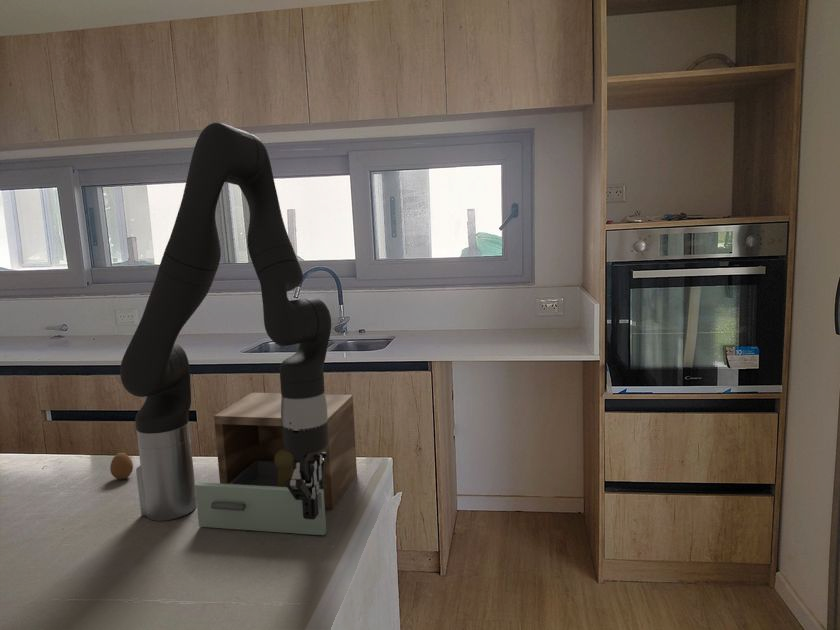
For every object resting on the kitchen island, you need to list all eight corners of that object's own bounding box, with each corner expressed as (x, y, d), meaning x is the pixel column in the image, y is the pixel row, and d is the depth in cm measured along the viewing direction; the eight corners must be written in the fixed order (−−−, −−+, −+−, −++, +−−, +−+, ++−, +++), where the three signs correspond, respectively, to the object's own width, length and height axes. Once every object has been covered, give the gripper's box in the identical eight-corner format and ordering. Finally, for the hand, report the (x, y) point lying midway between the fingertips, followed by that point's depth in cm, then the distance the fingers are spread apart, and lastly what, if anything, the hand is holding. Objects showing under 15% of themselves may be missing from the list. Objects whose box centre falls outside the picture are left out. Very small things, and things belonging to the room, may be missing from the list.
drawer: (195, 530, 106) (190, 488, 104) (252, 477, 127) (250, 442, 126) (321, 539, 101) (318, 495, 100) (358, 482, 123) (356, 446, 122)
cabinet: (221, 502, 117) (213, 415, 114) (258, 469, 132) (252, 392, 129) (332, 509, 112) (327, 419, 109) (356, 474, 128) (352, 394, 125)
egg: (128, 482, 128) (124, 456, 127) (107, 483, 128) (104, 457, 127) (137, 474, 132) (135, 448, 131) (118, 474, 132) (115, 449, 131)
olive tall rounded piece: (301, 513, 108) (297, 457, 107) (270, 511, 109) (265, 455, 108) (312, 498, 114) (308, 444, 113) (283, 497, 115) (279, 443, 114)
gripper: (299, 406, 104) (305, 498, 107) (265, 432, 91) (273, 535, 94) (339, 407, 102) (344, 500, 105) (310, 434, 90) (317, 539, 92)
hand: (310, 517), depth 99 cm, fingers closed
